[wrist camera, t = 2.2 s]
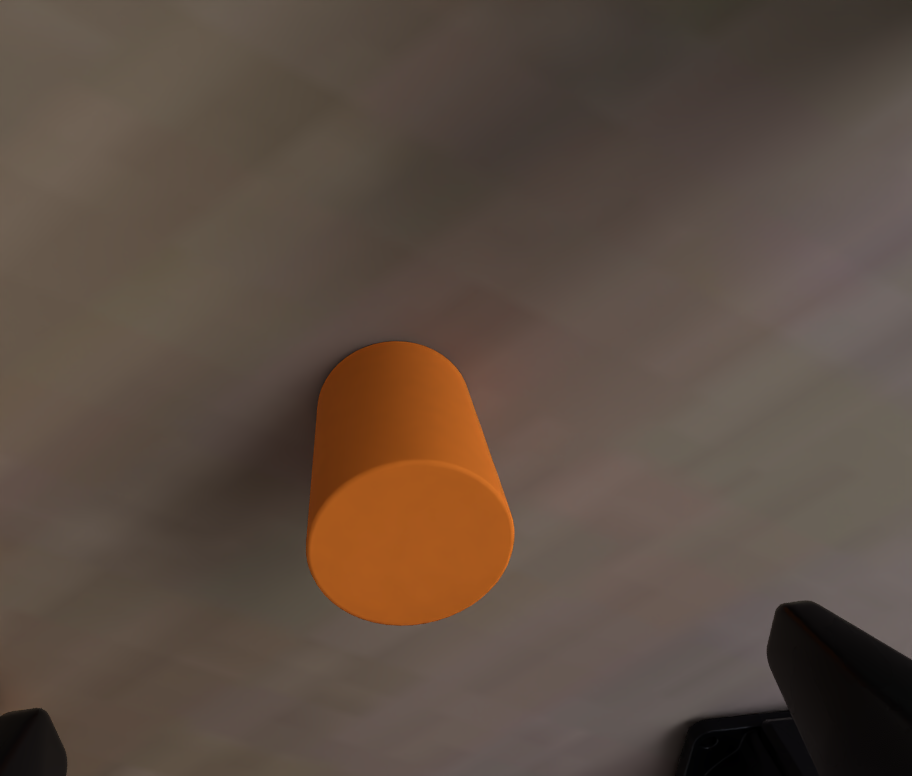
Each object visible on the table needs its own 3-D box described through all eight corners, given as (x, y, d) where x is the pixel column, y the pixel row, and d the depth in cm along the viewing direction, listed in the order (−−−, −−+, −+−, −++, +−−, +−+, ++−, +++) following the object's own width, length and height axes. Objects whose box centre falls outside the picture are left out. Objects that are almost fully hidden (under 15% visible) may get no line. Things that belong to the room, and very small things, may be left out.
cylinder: (465, 469, 15) (508, 619, 11) (321, 476, 15) (311, 635, 11) (473, 337, 14) (523, 456, 10) (313, 341, 13) (298, 466, 9)
